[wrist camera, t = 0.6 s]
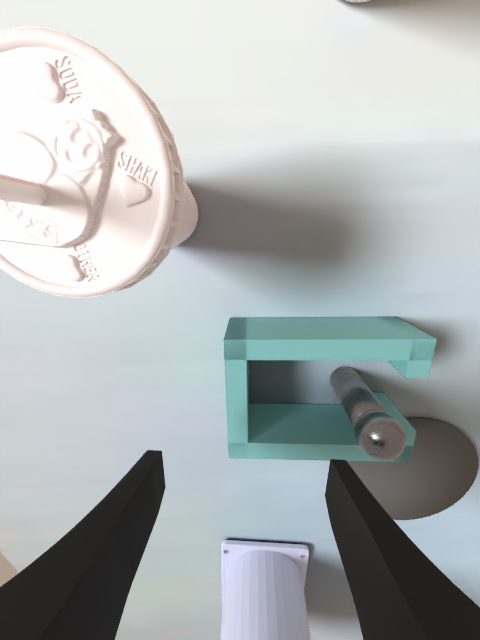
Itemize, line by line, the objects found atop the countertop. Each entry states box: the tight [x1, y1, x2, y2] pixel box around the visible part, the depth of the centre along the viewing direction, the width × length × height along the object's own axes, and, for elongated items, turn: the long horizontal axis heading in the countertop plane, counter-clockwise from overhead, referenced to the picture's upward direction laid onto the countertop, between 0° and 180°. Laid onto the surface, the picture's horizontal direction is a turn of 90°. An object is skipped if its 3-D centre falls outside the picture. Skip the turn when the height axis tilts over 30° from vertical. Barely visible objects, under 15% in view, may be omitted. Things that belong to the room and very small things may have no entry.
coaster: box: [347, 418, 478, 520], centre depth 21 cm, size 10×10×1 cm
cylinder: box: [330, 367, 407, 460], centre depth 16 cm, size 2×2×7 cm
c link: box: [224, 317, 437, 462], centre depth 17 cm, size 8×11×4 cm
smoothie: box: [0, 26, 198, 298], centre depth 9 cm, size 6×6×14 cm
